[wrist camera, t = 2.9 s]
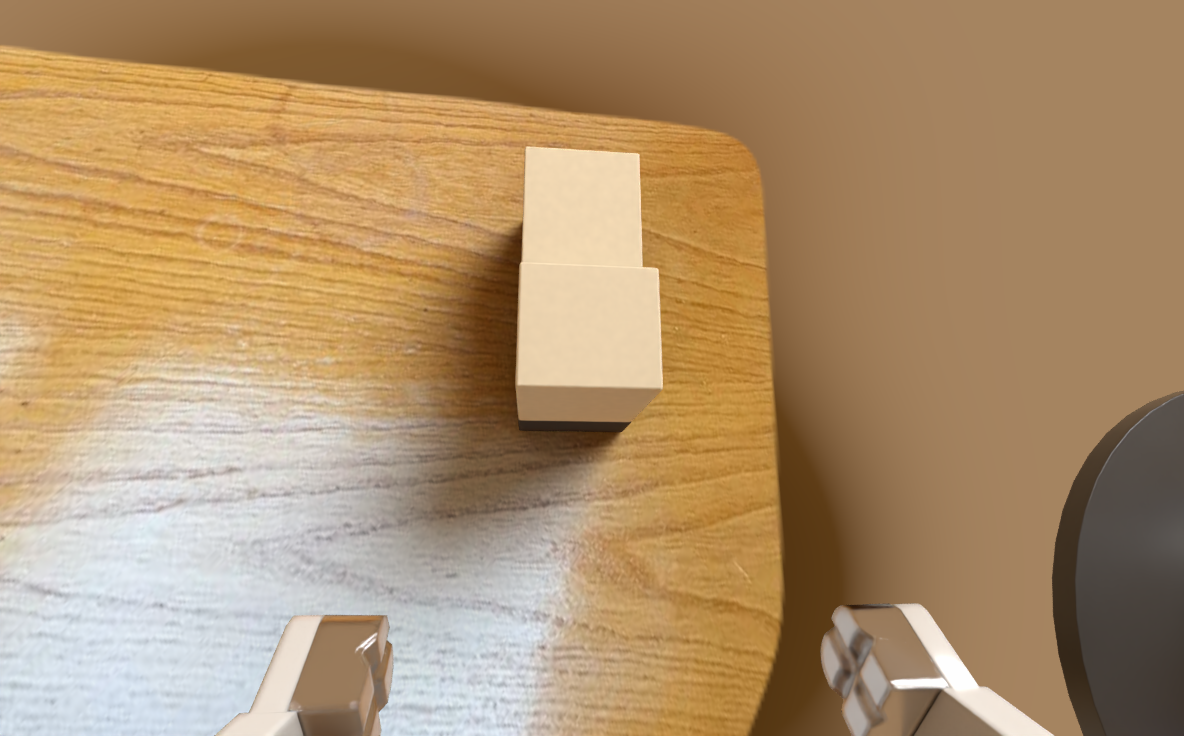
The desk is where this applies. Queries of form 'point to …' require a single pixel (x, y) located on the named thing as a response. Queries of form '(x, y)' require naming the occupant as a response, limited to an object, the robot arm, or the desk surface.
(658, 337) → the stepped cream block
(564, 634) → the desk surface
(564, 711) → the desk surface
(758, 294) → the desk surface
